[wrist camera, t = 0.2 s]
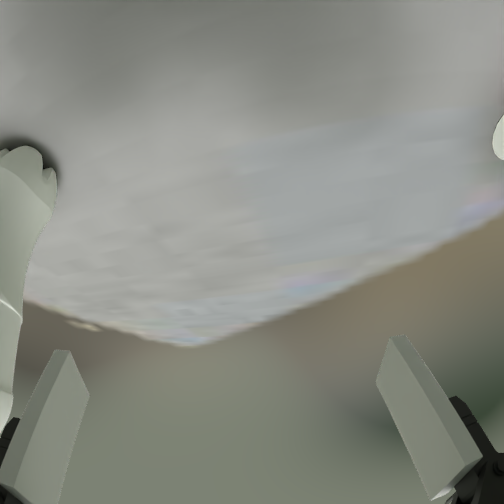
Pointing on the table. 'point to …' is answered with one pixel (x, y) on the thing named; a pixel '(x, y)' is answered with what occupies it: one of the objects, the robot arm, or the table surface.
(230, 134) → the table surface
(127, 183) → the table surface
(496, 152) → the wineglass
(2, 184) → the water bottle
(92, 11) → the table surface
